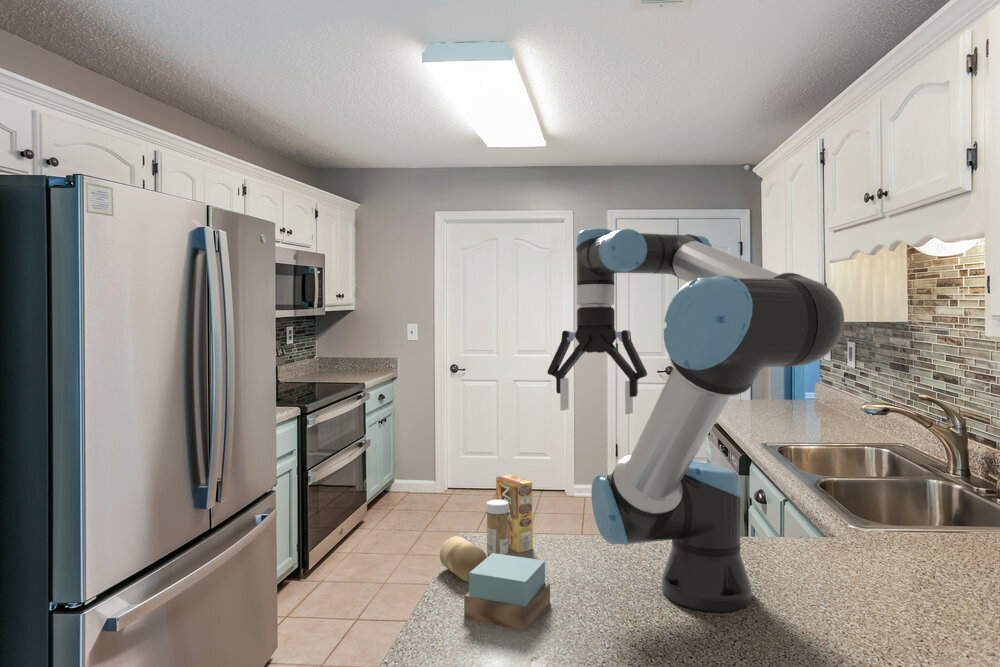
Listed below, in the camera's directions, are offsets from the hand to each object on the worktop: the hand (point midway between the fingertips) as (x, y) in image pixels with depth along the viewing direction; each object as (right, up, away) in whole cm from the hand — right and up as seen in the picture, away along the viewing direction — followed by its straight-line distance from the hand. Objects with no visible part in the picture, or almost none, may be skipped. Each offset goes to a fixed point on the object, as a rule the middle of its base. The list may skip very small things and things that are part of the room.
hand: (596, 411), depth 125 cm
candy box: (-16, -32, +12) cm, 38 cm away
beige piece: (-29, -29, 0) cm, 41 cm away
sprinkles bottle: (-20, -32, 0) cm, 38 cm away
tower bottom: (-18, -32, -19) cm, 41 cm away
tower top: (-18, -28, -19) cm, 38 cm away
